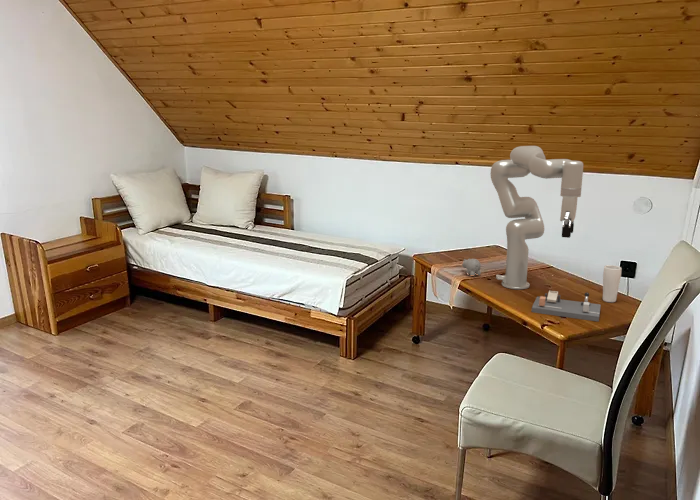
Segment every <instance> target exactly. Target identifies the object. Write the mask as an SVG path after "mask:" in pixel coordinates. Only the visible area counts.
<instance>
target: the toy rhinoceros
mask: <svg viewBox="0 0 700 500" xmlns="http://www.w3.org/2000/svg"><path fill="white" fill-rule="evenodd" d="M461 266H462V268H464V269H466V273H468V274H470V275H475V276H476V274H478V275H479V276H481V275H480V274H482V271H481V268H482V267H481V262H480V261H479V260H478V259H477V258H470V257H469V258H468V259H465V258H464V259H463V262H462V265H461ZM466 273H465V274H466ZM475 273H476V274H475ZM470 275H469V276H470Z"/></svg>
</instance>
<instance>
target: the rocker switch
mask: <svg viewBox="0 0 700 500" xmlns="http://www.w3.org/2000/svg"><path fill="white" fill-rule="evenodd" d="M558 295H559V291H556V290H548V292H547V301H549V302H556V300H557V299H558Z"/></svg>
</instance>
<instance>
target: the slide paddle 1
mask: <svg viewBox="0 0 700 500" xmlns="http://www.w3.org/2000/svg"><path fill="white" fill-rule="evenodd" d="M539 297H540V300H539V305H540V306H544V305H545V300H546V297H545V296H543V295H540V296H539Z"/></svg>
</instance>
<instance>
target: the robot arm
mask: <svg viewBox="0 0 700 500" xmlns="http://www.w3.org/2000/svg"><path fill="white" fill-rule="evenodd" d="M509 158H510V159H500V160H498V161H495V162H494V163H493V164H492V165H491V167H490V174H489V175H490V180H491V183H492V185H493V188H494V189H495V191H496V193H497V195H498V199H499V201H500V202H499V203H500V205H501V209H502V211H503V214H504V216H505V217H506V218H507V219H513V220H510V221H509V222H507V224H506V226H505V234H506V243H507V244H506V260H505V261H506V264H505V274H503V275H501V274H496V275H495V279H497V280H498V281H501V285H502V287H504V288H507V289H511V290H526V289H528V288H530V285H531V284H530V283H529V282H528V281H527V277H528V265H529V247H528V245H527V242H526V241H527V240H533V239H538V238H541V237H542V236H543V235H544V233H545V224H544V220H543V218H542V215H541V212H540V209H539V206H538V202H537V201H536V200H535V199H534V198H533V197H531V196H519V193H518V190H517V188H516V187H515V185H514V184H513V182H511V181H510V180H509V179H515V178H516V179H517V178H524V177H526V176H528V175H529V174H531V175H533V176H535V177H538V178H540V179H546V180H547V179H560V178H561V181H560V182H561V185H560V195H559V196H560V197H562V200H561V207H560V210H561V211H560V218H559V221H560V222H563V223H562V227H561V238H568V239H569V238H571V234H573V233H574V227H575V223H574V222H575V219H576V217H577V216H576V215H577V207H578V198H580V197H582V187H583V176H584V175H583V174H584V162H583V161H581V160H571V159H568V158H554V159H553V158H551V159H547V158H546V155H545V154H544V151H543V149H542V148H541V146H540V147H539V146H537V145H520V146H516V147H514V148H513V149H512V150H511V152H510V154H509Z"/></svg>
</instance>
